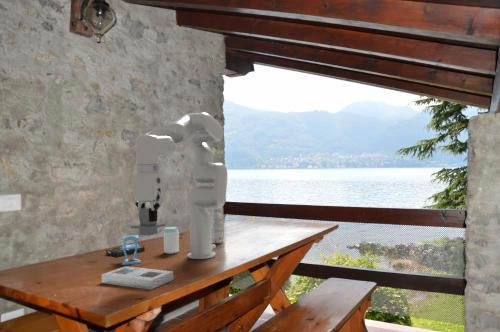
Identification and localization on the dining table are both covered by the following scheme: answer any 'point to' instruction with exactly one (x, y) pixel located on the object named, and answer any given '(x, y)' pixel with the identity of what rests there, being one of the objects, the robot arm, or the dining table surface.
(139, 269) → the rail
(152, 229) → the flanged block
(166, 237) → the can
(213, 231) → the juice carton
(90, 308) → the dining table surface
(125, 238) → the chair
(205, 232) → the robot arm
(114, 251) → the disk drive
